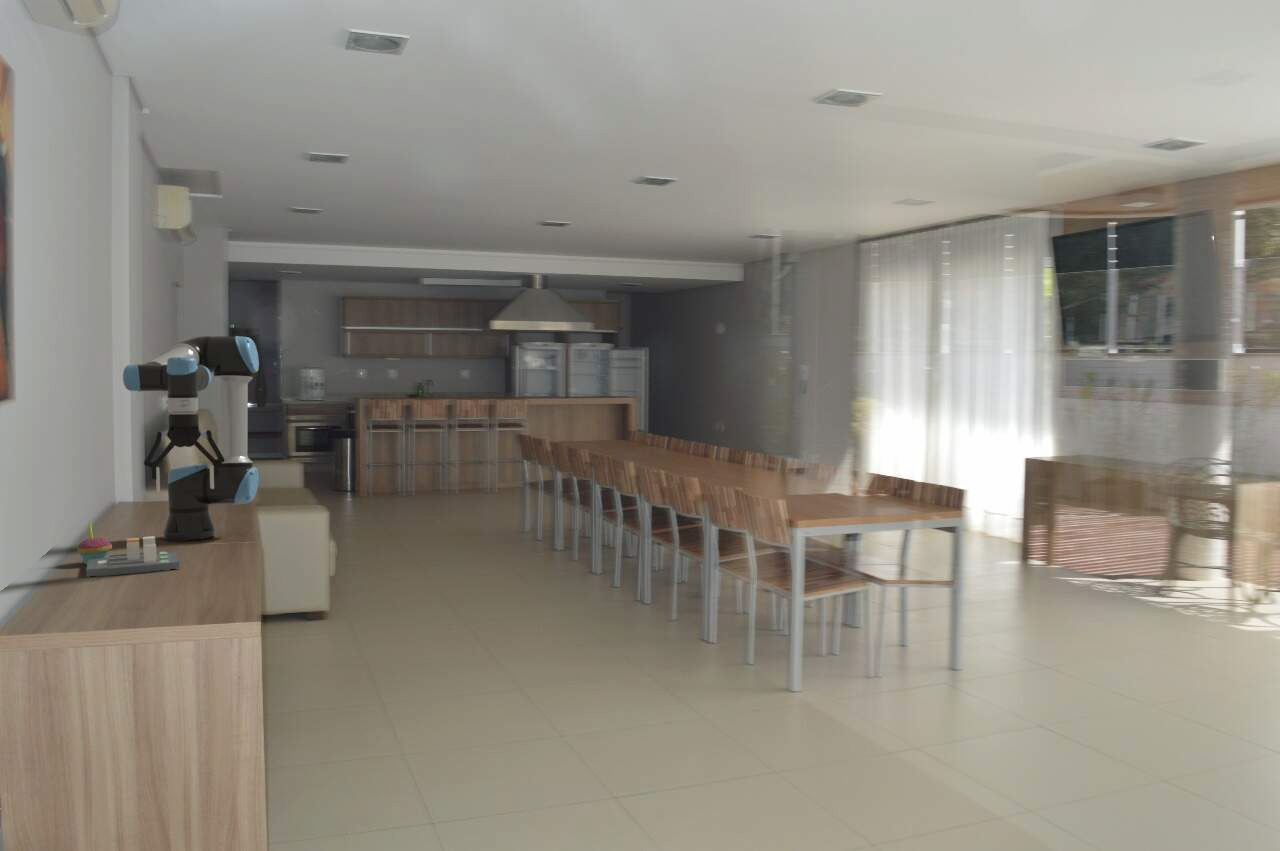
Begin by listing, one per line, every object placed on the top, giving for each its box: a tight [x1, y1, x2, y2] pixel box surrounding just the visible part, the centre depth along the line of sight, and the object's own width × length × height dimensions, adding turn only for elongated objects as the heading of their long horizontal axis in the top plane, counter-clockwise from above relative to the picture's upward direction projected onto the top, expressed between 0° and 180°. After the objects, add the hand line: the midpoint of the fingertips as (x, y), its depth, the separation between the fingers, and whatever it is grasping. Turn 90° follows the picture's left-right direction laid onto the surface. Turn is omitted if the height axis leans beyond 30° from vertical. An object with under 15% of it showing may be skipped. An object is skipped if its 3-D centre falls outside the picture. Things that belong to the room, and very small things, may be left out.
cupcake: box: [76, 520, 113, 565], centre depth 274 cm, size 9×8×12 cm
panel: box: [85, 535, 180, 578], centre depth 268 cm, size 18×22×7 cm
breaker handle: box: [126, 537, 141, 560], centre depth 268 cm, size 3×3×6 cm
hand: (185, 489), depth 272 cm, fingers open, 13 cm apart
